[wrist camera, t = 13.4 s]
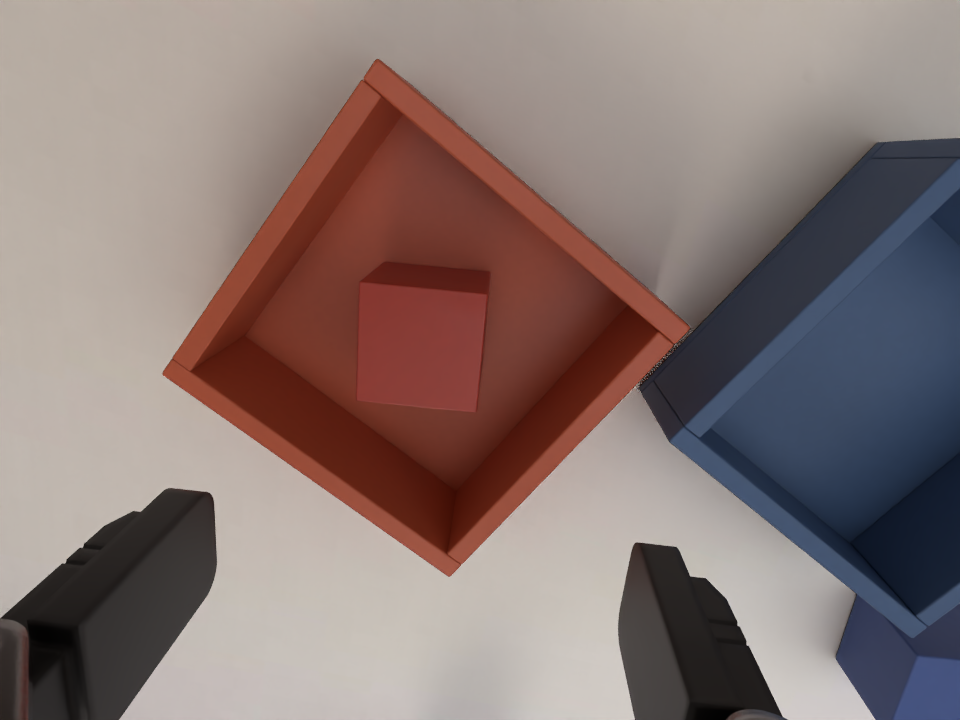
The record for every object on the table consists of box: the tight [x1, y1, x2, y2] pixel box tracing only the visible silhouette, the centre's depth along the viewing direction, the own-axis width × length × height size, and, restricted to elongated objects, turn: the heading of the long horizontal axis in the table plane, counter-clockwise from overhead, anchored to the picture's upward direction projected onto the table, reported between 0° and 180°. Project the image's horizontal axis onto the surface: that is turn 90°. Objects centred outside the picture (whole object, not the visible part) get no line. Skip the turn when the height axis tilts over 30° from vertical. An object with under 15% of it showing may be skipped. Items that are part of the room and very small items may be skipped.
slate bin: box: [639, 138, 960, 638], centre depth 25 cm, size 14×14×6 cm
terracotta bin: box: [162, 59, 690, 577], centre depth 25 cm, size 14×14×6 cm
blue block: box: [836, 595, 960, 720], centre depth 29 cm, size 5×5×5 cm
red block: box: [356, 262, 491, 413], centre depth 24 cm, size 5×5×5 cm
